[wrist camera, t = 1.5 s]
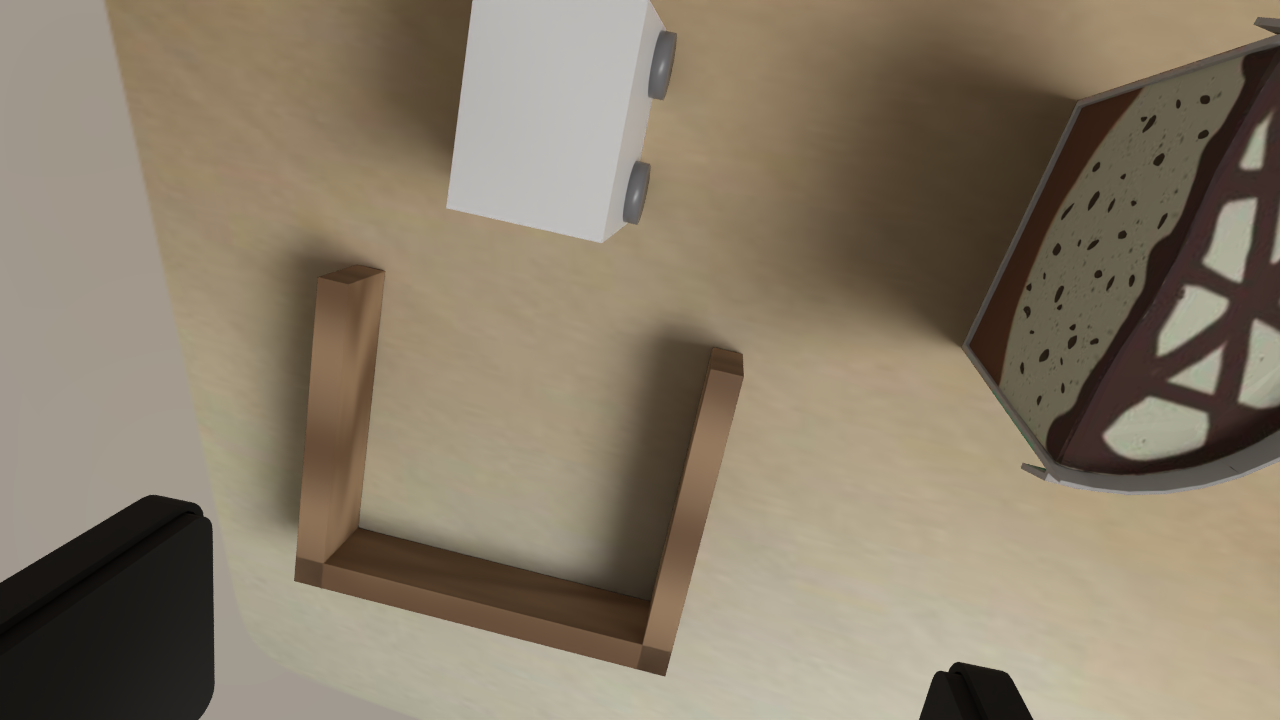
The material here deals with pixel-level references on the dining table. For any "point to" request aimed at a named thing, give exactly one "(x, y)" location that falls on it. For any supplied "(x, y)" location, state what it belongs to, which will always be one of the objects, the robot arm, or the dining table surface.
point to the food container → (1149, 285)
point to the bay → (459, 581)
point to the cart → (558, 113)
